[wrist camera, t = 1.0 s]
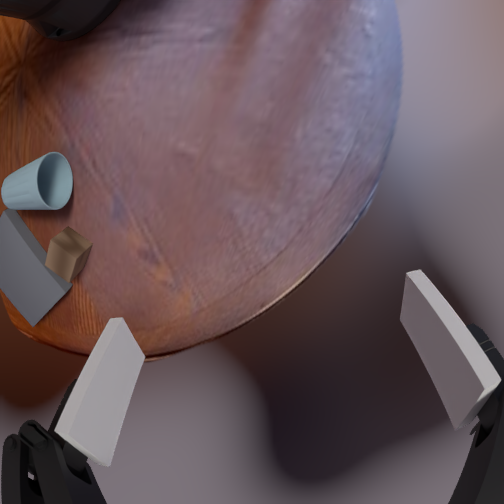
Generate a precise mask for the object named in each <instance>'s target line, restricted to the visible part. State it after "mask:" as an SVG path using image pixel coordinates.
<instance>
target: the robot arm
mask: <svg viewBox="0 0 504 504" xmlns="http://www.w3.org/2000/svg"><path fill="white" fill-rule="evenodd" d="M119 2H120V0H0V15H2V16H8V17H13V18H19V19H23V20H26V21H27V22H28V23H29V24H30V25H31V26H32V27H33V28H34V29H35V30H36V31H37V32H38V33H39V34H41V35H42V36H44V37H46V38H48V39H52V40H57V41H67V40H72V39H75V38H77V37H80V36H82V35H84V34H86V33H87V32H89V31H90V30H92V29H93V28H95V27H96V26H97V25H99V24H100V23H101V22H102V21H103V20H104V19H105V18H106V17H107V16H108V15H109V14H110V13H111V12H112V11H113V10H114V8H115V7H116V6H117V4H118V3H119ZM400 321H401V322H402V324H403V326H404V327H405V329H406V331H407V333H408V335H409V336H410V338H411V340H412V342H413V344H414V345H415V347H416V349H417V351H418V353H419V355H420V357H421V359H422V361H423V362H424V365H425V367H426V369H427V370H428V372H429V374H430V376H431V378H432V380H433V382H434V385H435V387H436V389H437V391H438V392H439V395H440V397H441V399H442V401H443V404H444V406H445V408H446V410H447V413H448V415H449V417H450V419H451V422H452V424H453V426H454V429H455V430H457V429H460V428H461V427H464V426H466V425H468V424H470V423H471V422H472V421H473V419H474V418H475V417H476V416H477V415H478V418H479V420H480V421H479V422H478V423H477V424H476V426H475V427H474V428H473V429H472V431H471V433H470V435H472V434H473V433H474V432H475V431H476V432H475V435H474V438H473V442H472V445H471V448H470V451H469V454H468V457H467V460H466V463H465V466H464V468H463V471H462V473H461V476H460V478H459V481H458V483H457V486H456V488H455V490H454V493H453V495H452V497H451V499H450V501H449V503H448V504H504V359H503V358H502V356H501V355H500V353H499V352H498V350H497V349H496V348H495V347H494V345H493V343H492V342H491V341H489V338H488V336H487V335H486V334H485V332H484V331H483V330H482V329H481V328H479V327H478V326H476V325H475V324H470V325H467V326H465V325H464V323H463V322H462V320H461V319H460V318H459V317H458V315H457V314H456V313H455V311H454V310H453V309H452V307H451V306H450V305H449V304H448V302H447V301H446V300H445V298H444V297H443V296H442V295H441V294H440V292H439V291H438V290H437V289H436V288H435V286H434V285H433V284H432V283H431V281H430V280H429V279H428V278H427V277H426V276H425V274H424V273H423V272H422V271H421V270H416V271H412V272H408V273H406V280H405V288H404V296H403V304H402V310H401V316H400ZM144 359H145V356H144V354H143V352H142V351H141V349H140V347H139V346H138V344H137V342H136V341H135V339H134V337H133V335H132V334H131V332H130V330H129V328H128V326H127V325H126V323H125V321H124V319H123V317H122V318H110V320H109V322H108V323H107V325H106V327H105V329H104V331H103V332H102V334H101V336H100V338H99V340H98V341H97V343H96V345H95V347H94V349H93V351H92V353H91V354H90V356H89V358H88V361H87V362H86V364H85V366H84V368H83V370H82V372H81V374H80V376H79V378H78V379H75V380H74V381H73V382H72V383H71V385H70V386H69V387H68V389H67V391H66V393H65V395H64V398H63V399H62V401H61V405H59V407H58V410H57V412H56V414H55V416H54V418H53V421H52V423H51V425H50V428H49V430H48V431H46V430H45V429H44V428H43V427H42V426H41V425H40V424H39V423H38V422H36V421H35V420H28V421H26V422H25V423H24V424H23V425H22V426H21V427H20V430H19V432H18V435H16V434H11V435H10V436H8V437H7V438H6V440H5V442H4V446H3V454H2V475H1V476H2V477H1V479H2V480H1V482H2V483H1V493H2V494H1V495H2V504H107V503H106V501H105V499H104V497H103V495H102V493H101V490H100V488H99V486H98V484H97V482H96V479H95V477H94V475H93V472H92V470H91V467H90V466H89V464H88V463H87V462H86V461H87V458H89V459H90V460H92V461H93V462H94V463H96V464H100V465H104V466H108V467H110V464H111V461H112V457H113V454H114V450H115V447H116V443H117V440H118V437H119V433H120V430H121V427H122V424H123V421H124V417H125V414H126V411H127V408H128V405H129V402H130V399H131V396H132V393H133V390H134V387H135V384H136V381H137V378H138V375H139V373H140V370H141V367H142V364H143V361H144ZM28 472H30V473H31V474H33V475H34V480H32V479H30V478H29V477H28Z"/></svg>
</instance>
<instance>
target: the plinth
mask: <svg viewBox="0 0 504 504" xmlns="http://www.w3.org/2000/svg"><path fill="white" fill-rule="evenodd" d="M46 257H47V253H46V252H45V250H44V249H43V248H42V246H41V245H40V244H39V242H38V241H37V240H36V238H35V237H34V236H33V234H32V233H31V231H30V230H29V229H28V227H27V226H26V224H25V223H24V222H23V220H22V219H21V217H20V216H19V214H18V213H17V211H16V210H13V209H9V208H8V209H6V210H4V212H3V214H2V216H1V218H0V288H1V290H2V291H3V292H4V293H5V295H6V296H7V297H8V298H9V300H10V301H11V302H12V303H13V305H14V306H15V307H16V308H17V309H18V311H19V312H20V313H21V314H22V315H23V316H24V318H25V319H26V320H27V321H28V322H29V323H30V324H31V325H32V326H33V327H34V326H35V325H36V324H37V323H38V321H39V320H40V319H41V318H42V317H43V316H44V315H45V314H46V313H47V312H48V311H49V310H50V309H51V308H52V307H53V306H54V304H55V303H56V302H57V301H58V300H59V299H60V298H61V297H62V296H63V295H64V294H65V293H66V292H67V291H68V290H69V289H70V288H71V286H72V285H73V284H72V283H71V282H70V283H68V282H67V281H65V280H64V279H63V278H61V277H60V276H58V275H57V274H56V273H54V272H53V271H52V270H51V269H49V268H48V267H47V266H45V262H46Z"/></svg>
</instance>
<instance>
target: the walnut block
mask: <svg viewBox="0 0 504 504" xmlns="http://www.w3.org/2000/svg"><path fill="white" fill-rule="evenodd" d="M92 244H93V243H91V242H90V241H88V240H87V239H85V238H84V237H83V236H81V235H80V234H78V233H77V232H76V231H74V230H73V229H71V228H70V227H69V226H68V227H67V228H66V229H64V230H63V231H62V232H60V233H59V234H58V235H56V236H55V237H54V238H52V239H51V241H50V245H49V249H48V253H47V257H46V262H45V266H47V267H48V268H49V269H51V270H52V271H53V272H54V273H56V274H57V275H58V276H60V277H61V278H63V279H64V280H65V281H67V282H68V283H70V282H71V281H72V280H73V279H74V278H75V276H76V275H77V274H78V273H79V272H80V271H81V270H82V269H83V268H84V266H85V263H86V261H87V258H88V255H89V252H90V250H91V247H92Z"/></svg>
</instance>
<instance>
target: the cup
mask: <svg viewBox="0 0 504 504" xmlns="http://www.w3.org/2000/svg"><path fill="white" fill-rule="evenodd" d="M72 187H73V176H72V171H71V167H70V165H69V163H68V161H67V159H66V158H65V157H64V156H63V155H62V154H60V153H58V152H50V153H48V154H46V155H44V156H42V157H40V158H38V159H36V160H35V161H33V162H31V163H29V164H27V165H25V166H24V167H22V168H20V169H18V170H17V171H15V172H13V173H12V174H10V175H9V176H8V177H7V178H6V179H5V180H4V182H3V185H2V189H1V195H2V199H3V202H4V204H5V205H6V206H7V207H8V208H9V209H13V210H58V209H61V208H62V207H64V206H65V205H66V203H67V202H68V200H69V198H70V196H71V193H72Z"/></svg>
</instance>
